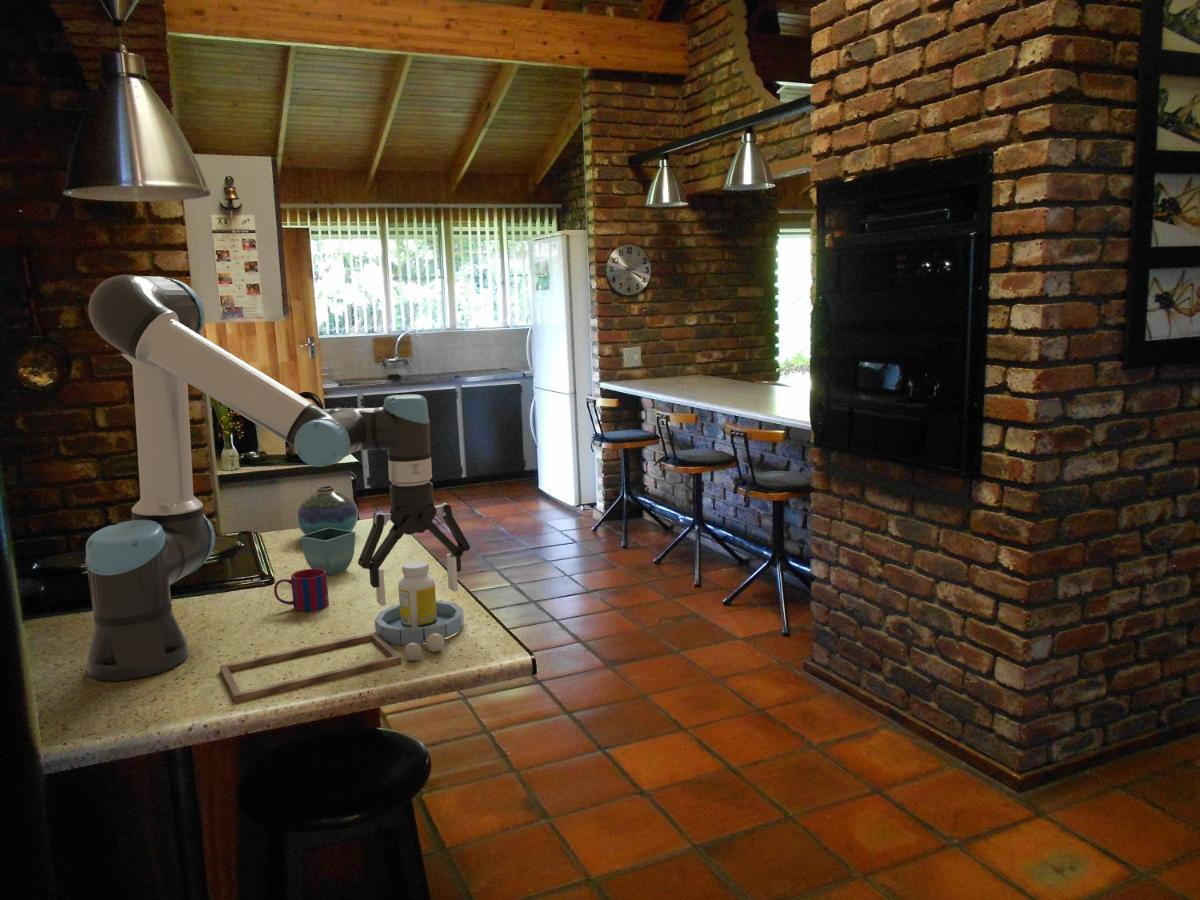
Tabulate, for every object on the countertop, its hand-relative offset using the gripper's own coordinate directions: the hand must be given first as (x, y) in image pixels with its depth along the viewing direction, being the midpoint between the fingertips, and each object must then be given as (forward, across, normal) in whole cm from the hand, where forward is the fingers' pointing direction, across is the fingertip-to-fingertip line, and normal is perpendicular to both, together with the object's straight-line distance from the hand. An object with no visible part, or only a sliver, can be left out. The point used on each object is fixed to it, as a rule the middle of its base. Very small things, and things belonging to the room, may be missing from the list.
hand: (418, 596), depth 161 cm
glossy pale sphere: (+6, -6, -13) cm, 16 cm away
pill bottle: (+6, 0, 0) cm, 6 cm away
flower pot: (+7, -4, +47) cm, 48 cm away
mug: (+7, -15, +26) cm, 31 cm away
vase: (+7, +4, +79) cm, 79 cm away
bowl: (+6, 0, 0) cm, 6 cm away
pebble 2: (+6, -1, -12) cm, 13 cm away
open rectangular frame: (+6, -21, -6) cm, 23 cm away
